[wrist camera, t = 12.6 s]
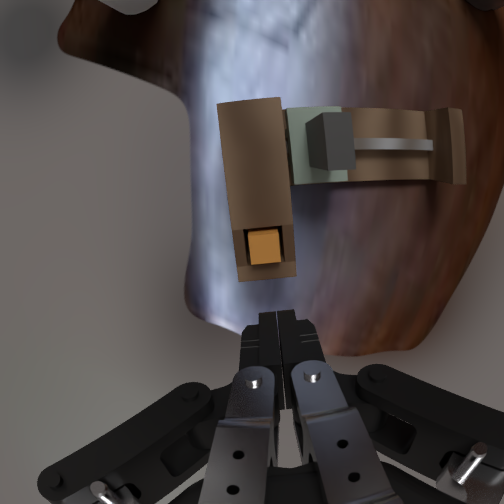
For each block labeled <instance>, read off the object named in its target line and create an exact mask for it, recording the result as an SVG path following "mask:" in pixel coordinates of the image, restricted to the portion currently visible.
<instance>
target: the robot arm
mask: <svg viewBox="0 0 504 504" xmlns="http://www.w3.org/2000/svg"><path fill="white" fill-rule="evenodd" d="M466 1H468V2H469V3H470V4H471V5H473V6H474V7H476V8H477V9H480V10H483V11H488V10H490V9H493V10H496V9H498V8H501V7H503V6H504V0H466ZM277 317H278V328H277V319H276V311H274V312H264V313H259V324H258V325H247V326H246V328H245V329H244V330H243V332H242V337H241V350H240V363H239V372H237V373H236V374H235V376H234V378H233V382H232V383H230V384H229V385H227V386H224V387H221V388H218V389H214V390H210V389H209V388H208V387H207V386H206V385H204V384H202V383H198V382H189V383H185V384H182V385H180V386H179V387H177V388H175V389H174V390H172V391H171V392H169V393H168V394H166V395H165V396H164V397H162V398H161V399H159V400H158V401H156V402H155V403H153V404H152V405H150V406H148V407H147V408H146V409H144V410H142V411H141V412H139V413H138V414H136V415H135V416H133V417H132V418H130V419H129V420H127V421H125V422H124V423H122V424H121V425H119V426H117V427H116V428H114V429H113V430H111V431H109V432H108V433H106V434H105V435H103V436H101V437H100V438H98V439H96V440H95V441H93V442H91V443H90V444H88V445H86V446H84V447H83V448H81V449H79V450H78V451H76V452H74V453H72V454H71V455H69V456H67V457H65V458H63V459H62V460H60V461H58V462H56V463H55V464H53V465H51V466H49V467H47V468H46V469H44V470H43V471H42V472H41V474H40V475H39V477H38V481H37V486H38V490H39V492H40V493H41V495H42V496H43V497H44V498H46V499H47V500H48V501H49V502H50V503H52V504H155V503H156V502H158V501H159V500H161V499H162V498H163V497H165V496H166V495H167V494H169V493H170V492H172V491H173V490H174V489H175V488H177V487H178V486H179V485H181V484H182V483H183V482H185V481H186V480H187V479H188V478H190V477H191V476H192V475H193V474H195V473H196V472H197V471H198V470H200V469H201V468H202V467H203V466H204V465H205V464H207V463H208V464H207V469H206V473H205V477H204V479H201V480H200V481H198V482H196V483H194V484H192V485H191V486H189V487H188V488H187V489H186V490H184V491H183V492H182V493H181V494H180V495H178V496H177V497H176V498H175V499H173V500H172V501H171V502H170V503H168V504H499V503H500V501H501V499H502V496H503V494H504V412H501V411H498V410H495V409H492V408H490V407H487V406H485V405H482V404H479V403H477V402H474V401H471V400H469V399H466V398H464V397H461V396H459V395H456V394H454V393H451V392H449V391H446V390H443V389H441V388H438V387H436V386H433V385H431V384H429V383H426V382H424V381H421V380H419V379H417V378H415V377H412V376H410V375H407V374H405V373H403V372H400V371H398V370H396V369H394V368H391V367H389V366H386V365H383V364H372V365H368V366H366V367H364V368H362V369H361V370H360V371H359V372H358V375H345V374H339V373H337V372H335V371H333V370H332V368H331V367H330V366H329V365H328V364H327V363H326V361H325V358H324V355H323V352H322V348H321V345H320V342H319V339H318V335H317V332H316V329H315V326H314V325H313V324H312V323H311V322H310V321H309V320H308V319H305V320H296V316H295V312H294V309H292V310H283V311H277ZM278 329H279V337H278ZM279 341H280V346H279ZM280 352H281V355H280ZM281 362H282V364H281ZM282 371H283V378H282ZM283 380H284V389H285V398H286V409H292V410H293V425H294V430H295V434H296V439H297V443H298V448H299V452H300V456H301V461H302V466H298V467H295V468H281V467H278V444H279V422H280V410H282V409H285V406H284V393H283ZM407 422H408V423H407ZM409 423H410V424H409ZM376 451H378V452H380V453H382V454H384V455H385V456H387V457H389V458H391V459H393V460H395V461H397V462H399V463H400V464H403V465H404V466H406V467H408V468H410V469H412V470H414V471H416V472H418V473H420V474H422V475H424V476H426V477H428V478H431V479H433V480H435V481H436V487H437V489H436V488H434V487H432V486H430V485H428V484H426V483H424V482H422V481H421V480H418V479H417V478H415V477H413V476H412V475H410V474H408V473H406V472H404V471H403V470H401V469H399V468H397V467H395V466H394V465H391V464H389V463H386V462H382V461H380V459H379V457H378V455H377V452H376Z"/></svg>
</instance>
